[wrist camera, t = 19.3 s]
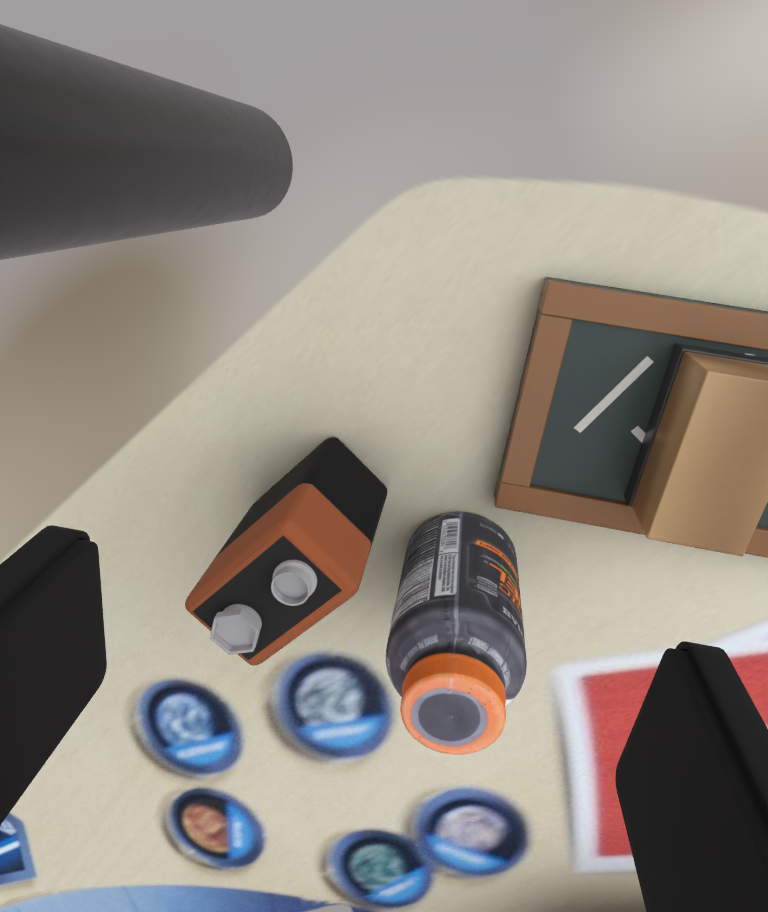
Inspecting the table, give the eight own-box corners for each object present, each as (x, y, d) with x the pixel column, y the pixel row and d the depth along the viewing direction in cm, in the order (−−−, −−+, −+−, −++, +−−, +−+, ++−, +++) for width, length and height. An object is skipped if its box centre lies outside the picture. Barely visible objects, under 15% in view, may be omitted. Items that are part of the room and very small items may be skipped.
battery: (249, 505, 34) (166, 621, 25) (334, 430, 32) (275, 529, 23) (306, 558, 35) (245, 689, 26) (392, 489, 33) (358, 607, 24)
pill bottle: (534, 582, 34) (557, 758, 23) (434, 615, 35) (416, 791, 25) (489, 491, 32) (493, 639, 22) (387, 530, 34) (346, 683, 23)
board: (494, 495, 32) (494, 507, 31) (545, 276, 27) (548, 280, 26) (816, 554, 31) (830, 569, 30) (926, 336, 26) (947, 343, 25)
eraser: (623, 497, 30) (643, 540, 26) (675, 342, 27) (705, 368, 23) (712, 513, 30) (745, 559, 26) (776, 358, 26) (822, 387, 23)
